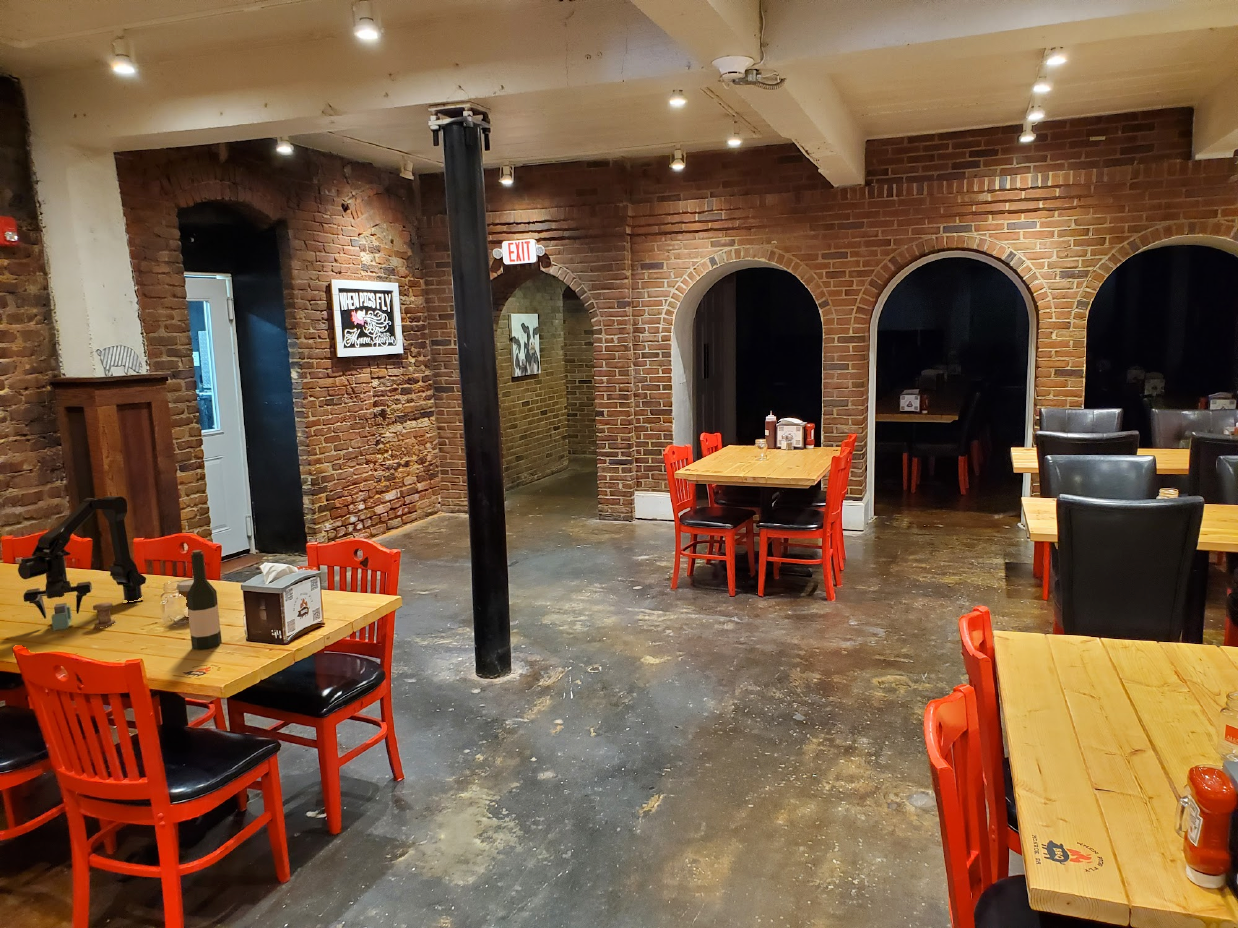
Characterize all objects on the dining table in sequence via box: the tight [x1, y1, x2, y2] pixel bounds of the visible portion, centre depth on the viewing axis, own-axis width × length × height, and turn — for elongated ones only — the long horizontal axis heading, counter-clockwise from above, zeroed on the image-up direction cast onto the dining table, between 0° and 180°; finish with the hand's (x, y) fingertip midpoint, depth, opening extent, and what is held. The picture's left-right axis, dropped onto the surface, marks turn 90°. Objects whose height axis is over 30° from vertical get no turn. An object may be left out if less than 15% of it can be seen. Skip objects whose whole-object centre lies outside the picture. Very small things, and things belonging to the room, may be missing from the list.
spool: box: [92, 602, 116, 629], centre depth 279 cm, size 6×6×7 cm
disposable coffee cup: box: [175, 577, 194, 606], centre depth 287 cm, size 10×10×12 cm
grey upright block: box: [53, 602, 69, 620], centre depth 281 cm, size 4×3×6 cm
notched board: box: [51, 604, 73, 632], centre depth 281 cm, size 12×4×5 cm, turn 27°
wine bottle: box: [186, 549, 223, 651], centre depth 255 cm, size 8×8×30 cm
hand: (61, 615), depth 281 cm, fingers open, 9 cm apart
